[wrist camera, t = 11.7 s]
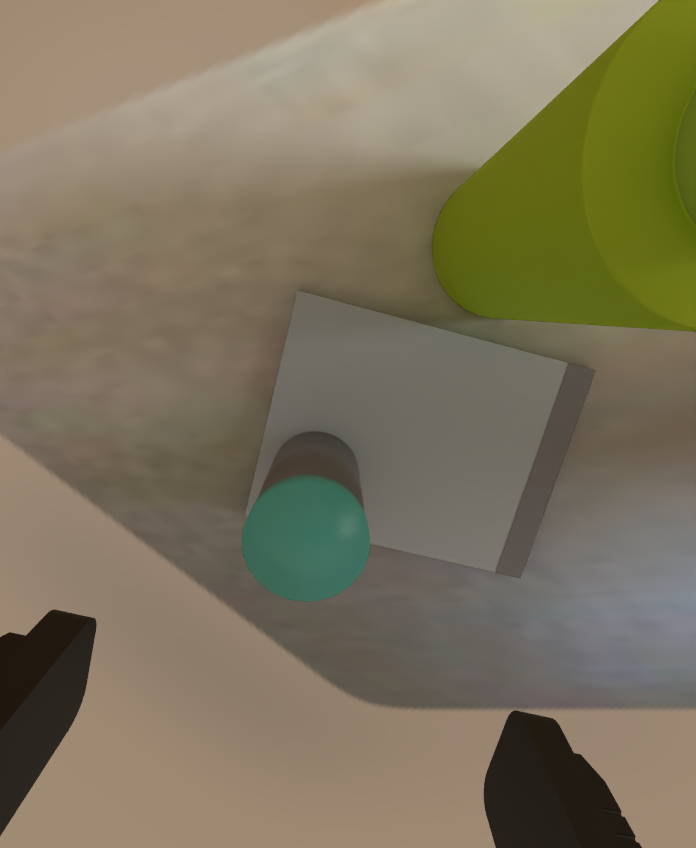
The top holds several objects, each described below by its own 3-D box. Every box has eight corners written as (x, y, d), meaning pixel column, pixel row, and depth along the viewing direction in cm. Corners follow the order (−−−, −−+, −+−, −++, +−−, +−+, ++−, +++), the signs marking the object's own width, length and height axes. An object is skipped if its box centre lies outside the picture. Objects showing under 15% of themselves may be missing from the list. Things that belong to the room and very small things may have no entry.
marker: (371, 445, 22) (386, 503, 15) (344, 525, 23) (348, 614, 16) (284, 419, 22) (261, 466, 15) (260, 501, 23) (227, 582, 16)
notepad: (588, 368, 23) (595, 370, 22) (515, 571, 25) (520, 578, 24) (298, 290, 21) (297, 290, 21) (247, 510, 23) (244, 515, 23)
